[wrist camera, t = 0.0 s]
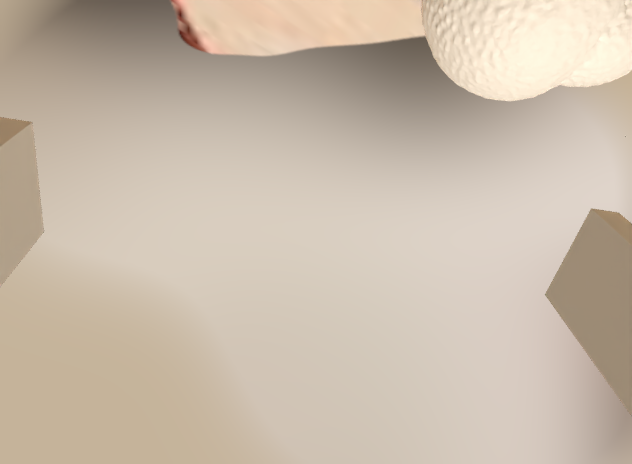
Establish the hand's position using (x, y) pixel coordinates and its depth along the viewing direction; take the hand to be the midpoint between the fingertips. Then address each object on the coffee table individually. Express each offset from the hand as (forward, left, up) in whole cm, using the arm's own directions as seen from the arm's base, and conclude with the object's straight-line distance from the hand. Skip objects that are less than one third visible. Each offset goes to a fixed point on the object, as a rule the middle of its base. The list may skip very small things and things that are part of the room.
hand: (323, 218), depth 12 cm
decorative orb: (+21, +9, -36) cm, 43 cm away
